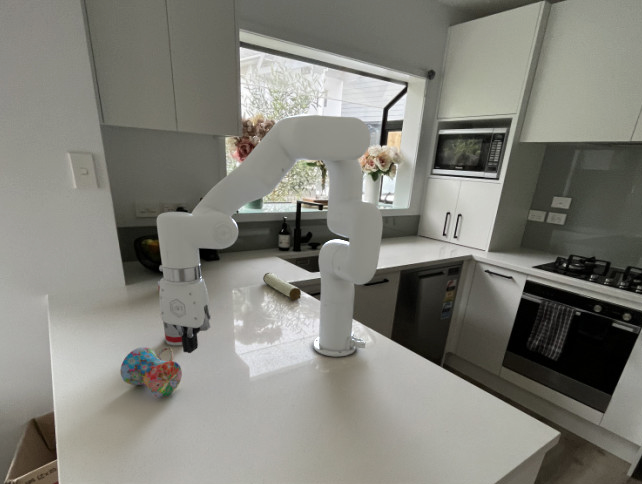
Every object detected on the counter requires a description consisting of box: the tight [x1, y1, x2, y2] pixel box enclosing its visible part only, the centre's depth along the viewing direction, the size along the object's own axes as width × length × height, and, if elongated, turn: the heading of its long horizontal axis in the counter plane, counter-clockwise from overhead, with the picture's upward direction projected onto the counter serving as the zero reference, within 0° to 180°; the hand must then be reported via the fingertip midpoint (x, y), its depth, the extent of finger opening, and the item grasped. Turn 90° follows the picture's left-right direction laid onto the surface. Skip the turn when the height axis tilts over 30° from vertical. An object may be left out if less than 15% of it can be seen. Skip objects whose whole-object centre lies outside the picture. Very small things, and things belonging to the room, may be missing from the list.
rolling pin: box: [262, 272, 302, 301], centre depth 158 cm, size 32×6×5 cm, turn 32°
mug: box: [120, 346, 183, 398], centre depth 88 cm, size 12×9×11 cm
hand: (190, 350), depth 87 cm, fingers closed
